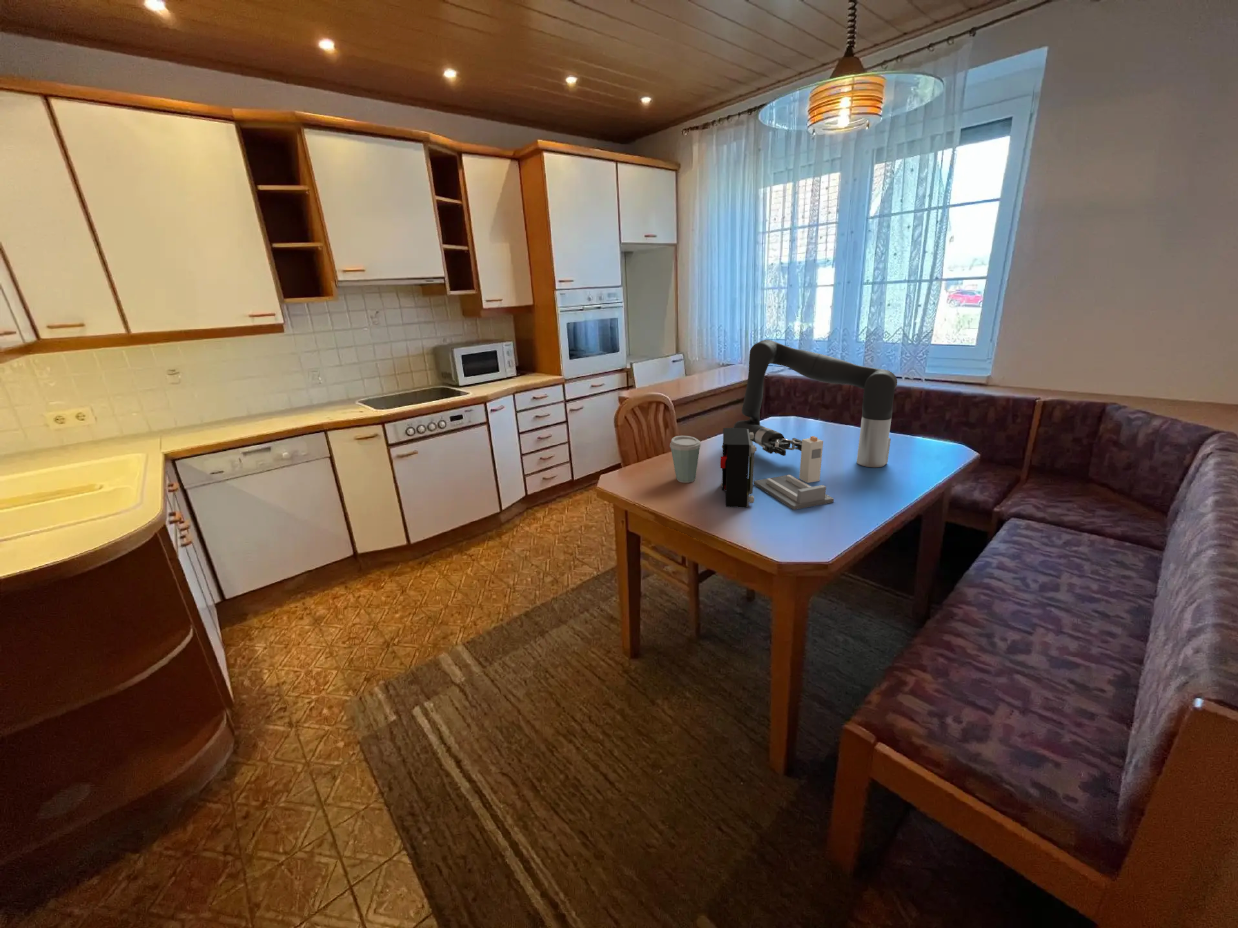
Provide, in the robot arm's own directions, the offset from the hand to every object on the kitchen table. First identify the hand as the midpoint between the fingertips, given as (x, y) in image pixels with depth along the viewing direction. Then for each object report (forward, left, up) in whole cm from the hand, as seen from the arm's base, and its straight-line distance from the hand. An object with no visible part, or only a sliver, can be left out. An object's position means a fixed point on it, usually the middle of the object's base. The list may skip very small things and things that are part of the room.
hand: (795, 451), depth 171 cm
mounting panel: (+12, +15, -8) cm, 21 cm away
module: (0, +8, -8) cm, 11 cm away
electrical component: (+29, +10, -8) cm, 32 cm away
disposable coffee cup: (+38, -9, -8) cm, 40 cm away
